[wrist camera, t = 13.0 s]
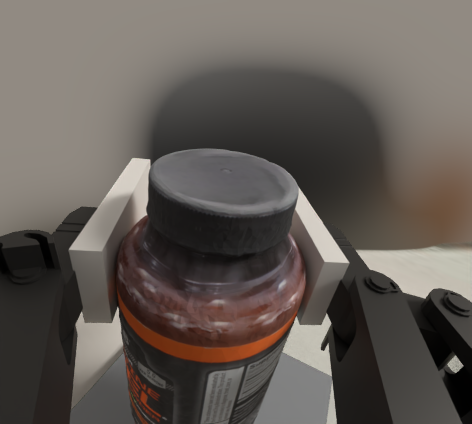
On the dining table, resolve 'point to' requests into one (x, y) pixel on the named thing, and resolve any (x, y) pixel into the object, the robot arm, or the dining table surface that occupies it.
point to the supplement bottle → (208, 287)
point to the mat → (270, 414)
